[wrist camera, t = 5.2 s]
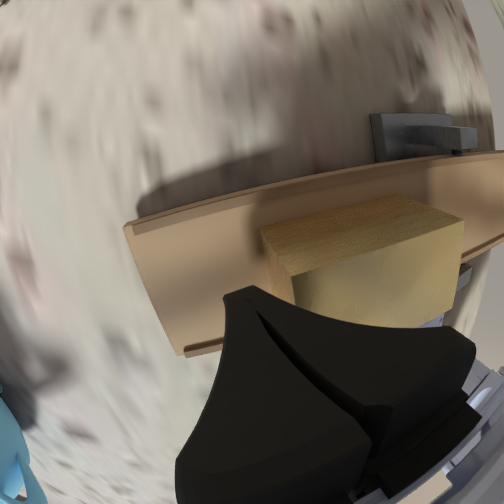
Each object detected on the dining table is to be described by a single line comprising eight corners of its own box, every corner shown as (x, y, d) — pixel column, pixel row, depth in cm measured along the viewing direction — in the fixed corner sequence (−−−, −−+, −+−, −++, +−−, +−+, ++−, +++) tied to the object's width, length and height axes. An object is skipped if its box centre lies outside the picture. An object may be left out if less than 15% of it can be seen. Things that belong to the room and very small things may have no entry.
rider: (397, 266, 14) (452, 308, 9) (274, 307, 13) (305, 373, 9) (396, 194, 12) (464, 219, 8) (257, 227, 11) (290, 276, 7)
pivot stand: (443, 257, 20) (484, 276, 16) (381, 292, 18) (425, 323, 14) (441, 114, 15) (490, 116, 11) (369, 114, 14) (430, 111, 9)
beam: (537, 215, 17) (574, 233, 12) (179, 350, 14) (178, 441, 9) (539, 146, 14) (580, 158, 9) (125, 216, 11) (70, 275, 6)
